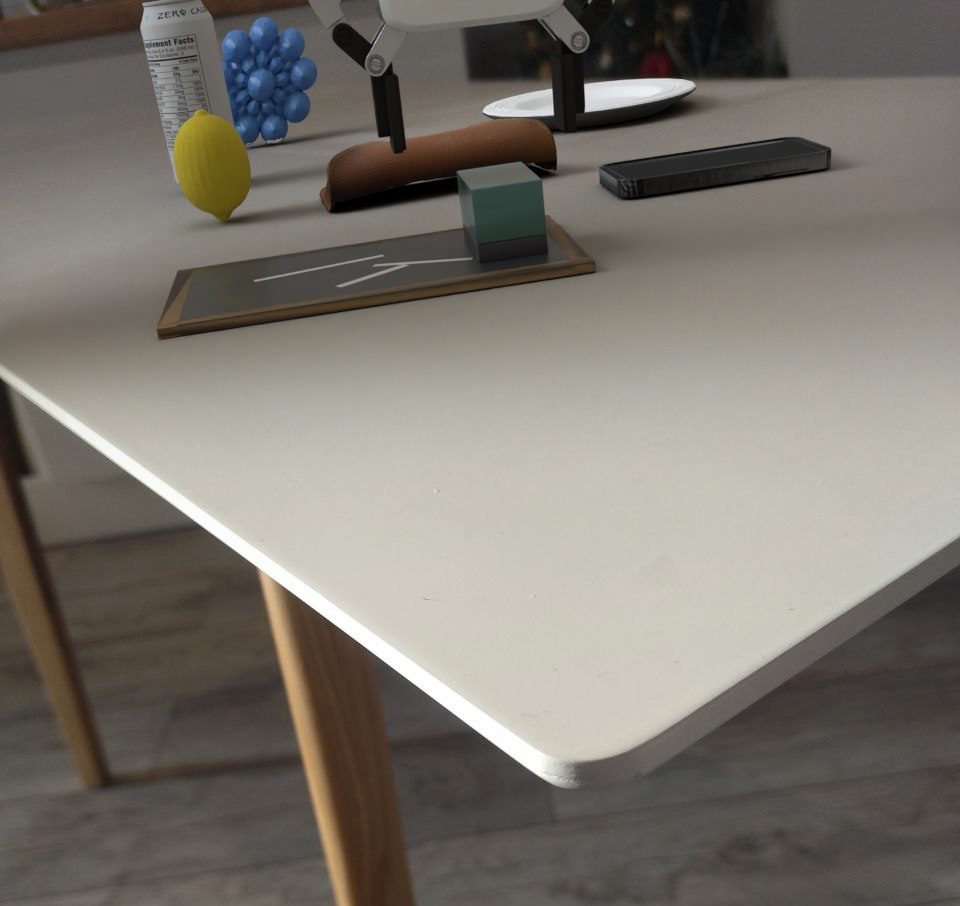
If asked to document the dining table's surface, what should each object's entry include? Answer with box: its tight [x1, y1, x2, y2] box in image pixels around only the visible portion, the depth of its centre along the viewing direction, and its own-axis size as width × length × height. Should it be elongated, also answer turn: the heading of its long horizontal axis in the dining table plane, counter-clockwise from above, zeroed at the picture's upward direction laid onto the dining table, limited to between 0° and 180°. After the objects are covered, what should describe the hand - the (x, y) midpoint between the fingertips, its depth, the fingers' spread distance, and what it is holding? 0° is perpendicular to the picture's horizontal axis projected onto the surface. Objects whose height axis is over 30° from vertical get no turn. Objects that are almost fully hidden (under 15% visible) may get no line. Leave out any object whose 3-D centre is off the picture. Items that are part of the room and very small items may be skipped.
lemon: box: [174, 109, 252, 222], centre depth 92 cm, size 6×6×8 cm
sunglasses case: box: [319, 118, 558, 213], centre depth 95 cm, size 18×7×7 cm
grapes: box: [221, 16, 318, 144], centre depth 127 cm, size 12×7×12 cm, turn 95°
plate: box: [482, 77, 697, 130], centre depth 119 cm, size 21×21×2 cm
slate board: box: [155, 214, 597, 340], centre depth 72 cm, size 24×14×1 cm, turn 98°
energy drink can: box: [139, 0, 235, 186], centre depth 105 cm, size 6×6×15 cm
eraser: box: [456, 162, 548, 263], centre depth 71 cm, size 7×4×4 cm, turn 8°
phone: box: [598, 136, 832, 198], centre depth 86 cm, size 8×1×15 cm
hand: (482, 140), depth 69 cm, fingers open, 9 cm apart
